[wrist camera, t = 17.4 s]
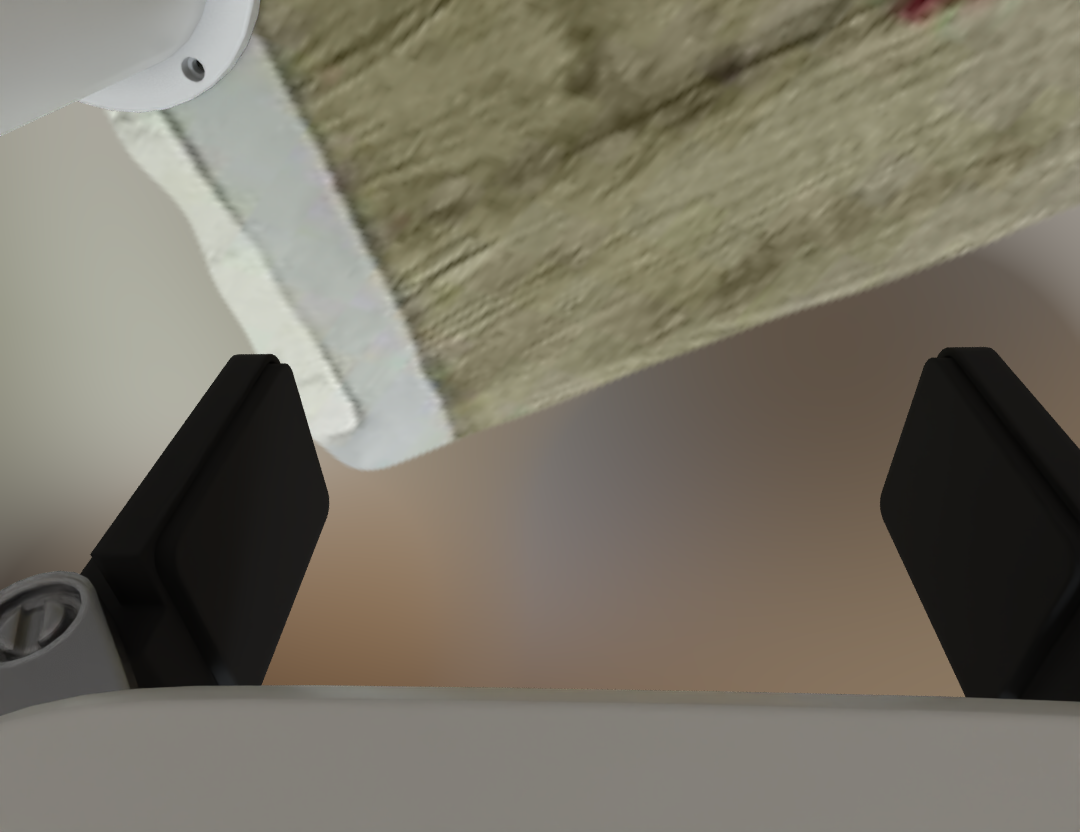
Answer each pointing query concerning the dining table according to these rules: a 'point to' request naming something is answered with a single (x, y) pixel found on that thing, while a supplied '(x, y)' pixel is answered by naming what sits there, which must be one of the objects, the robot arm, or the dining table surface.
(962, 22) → the dining table surface
